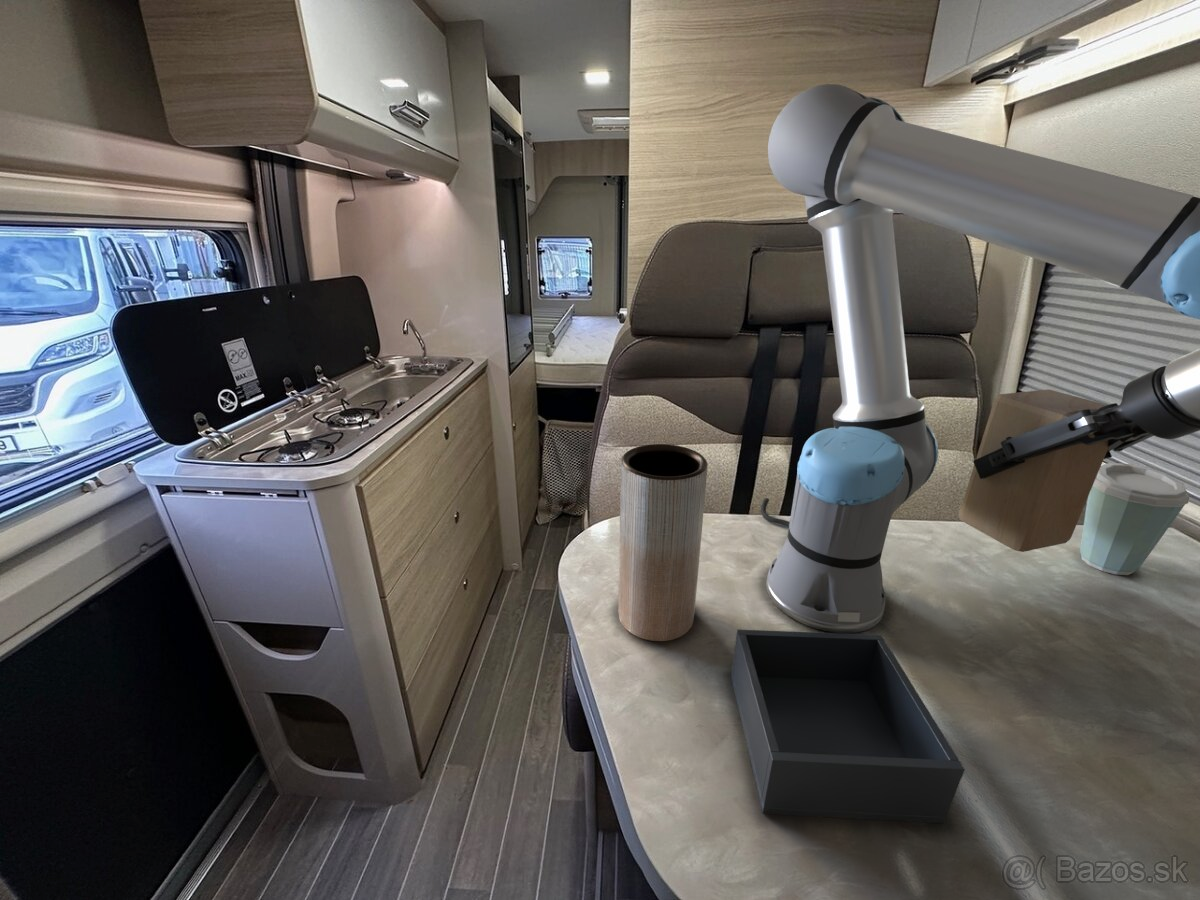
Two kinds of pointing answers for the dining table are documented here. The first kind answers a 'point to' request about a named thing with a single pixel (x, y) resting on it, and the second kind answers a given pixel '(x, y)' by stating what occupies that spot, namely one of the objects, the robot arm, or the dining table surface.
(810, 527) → the robot arm
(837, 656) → the tote
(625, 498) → the planter
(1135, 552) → the disposable coffee cup
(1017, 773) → the dining table surface
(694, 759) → the dining table surface
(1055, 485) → the wooden block
